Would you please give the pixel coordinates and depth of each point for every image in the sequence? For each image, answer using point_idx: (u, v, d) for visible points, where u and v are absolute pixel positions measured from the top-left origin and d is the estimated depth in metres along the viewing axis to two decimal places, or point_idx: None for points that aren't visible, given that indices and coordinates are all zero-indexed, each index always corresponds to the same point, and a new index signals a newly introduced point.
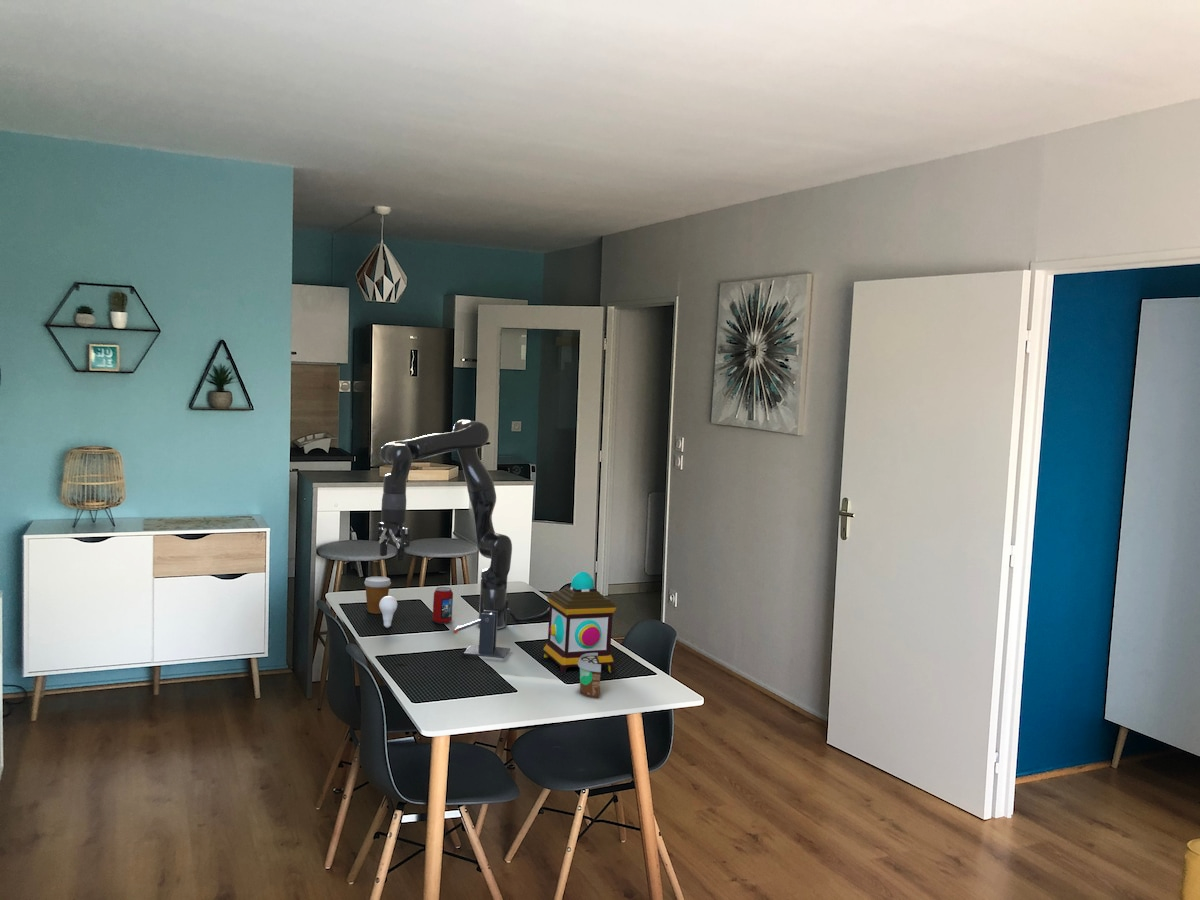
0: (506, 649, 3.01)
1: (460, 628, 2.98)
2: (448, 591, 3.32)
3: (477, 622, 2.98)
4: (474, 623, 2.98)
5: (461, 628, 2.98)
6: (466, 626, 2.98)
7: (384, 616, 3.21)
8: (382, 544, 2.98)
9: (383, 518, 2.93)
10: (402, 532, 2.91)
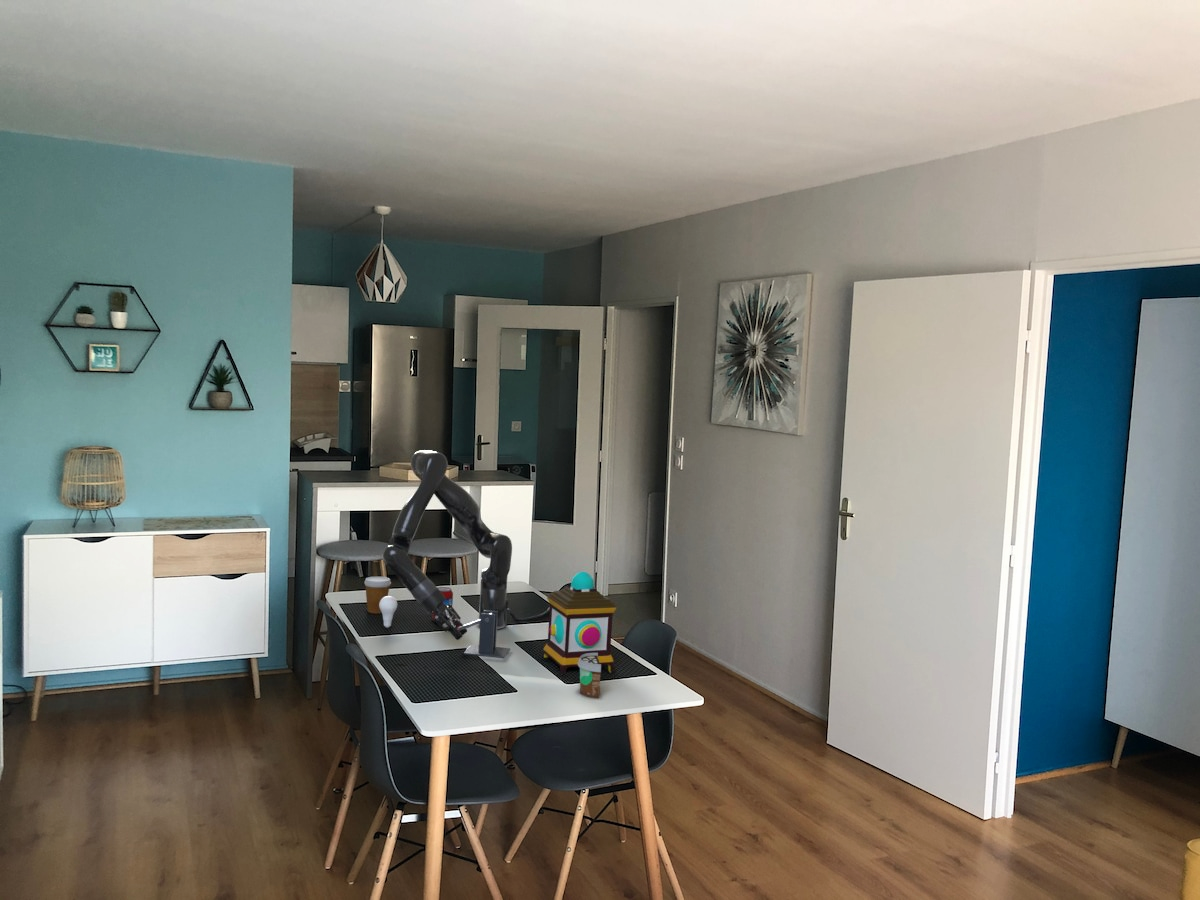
0: (506, 649, 3.01)
1: (460, 628, 2.98)
2: (448, 591, 3.32)
3: (477, 622, 2.98)
4: (474, 623, 2.98)
5: (461, 628, 2.98)
6: (466, 626, 2.98)
7: (384, 616, 3.21)
8: (455, 626, 3.02)
9: None
10: None
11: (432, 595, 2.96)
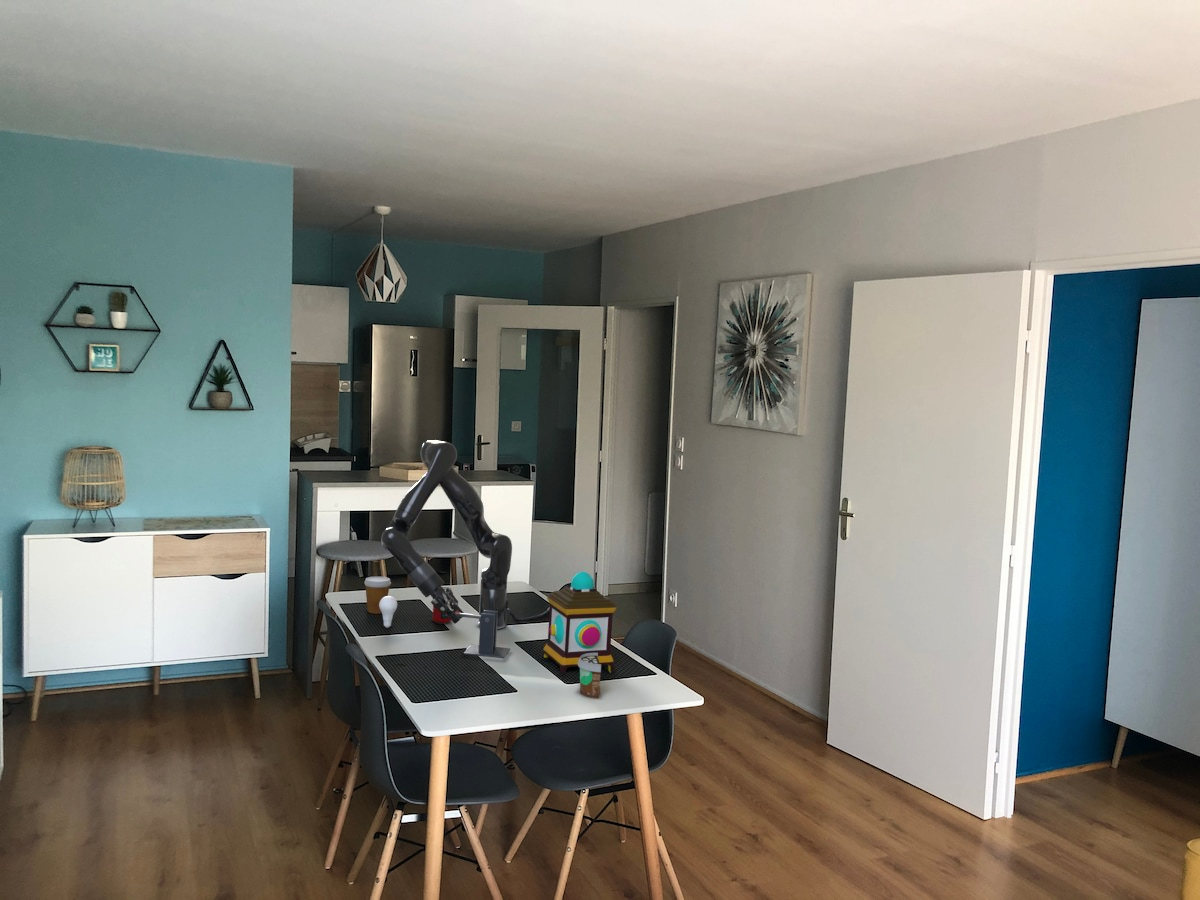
0: (506, 649, 3.01)
1: (458, 614, 2.98)
2: None
3: (476, 617, 2.97)
4: (473, 616, 2.98)
5: (459, 615, 2.98)
6: (464, 615, 2.98)
7: (384, 616, 3.21)
8: (453, 609, 3.02)
9: None
10: None
11: (430, 578, 2.96)
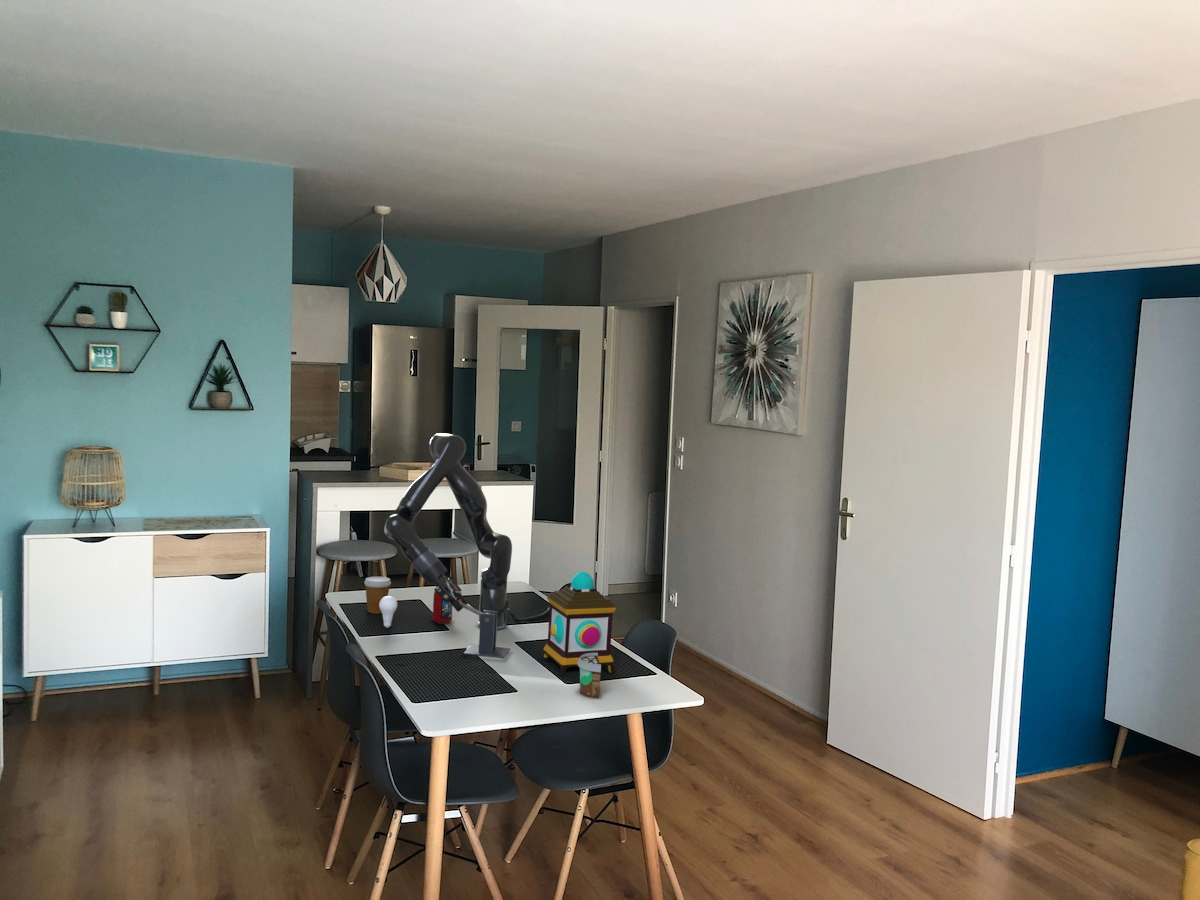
0: (506, 649, 3.01)
1: (461, 604, 2.98)
2: None
3: (477, 613, 2.97)
4: (474, 611, 2.97)
5: None
6: (466, 607, 2.98)
7: (384, 616, 3.21)
8: (456, 598, 3.01)
9: None
10: None
11: (433, 566, 2.95)
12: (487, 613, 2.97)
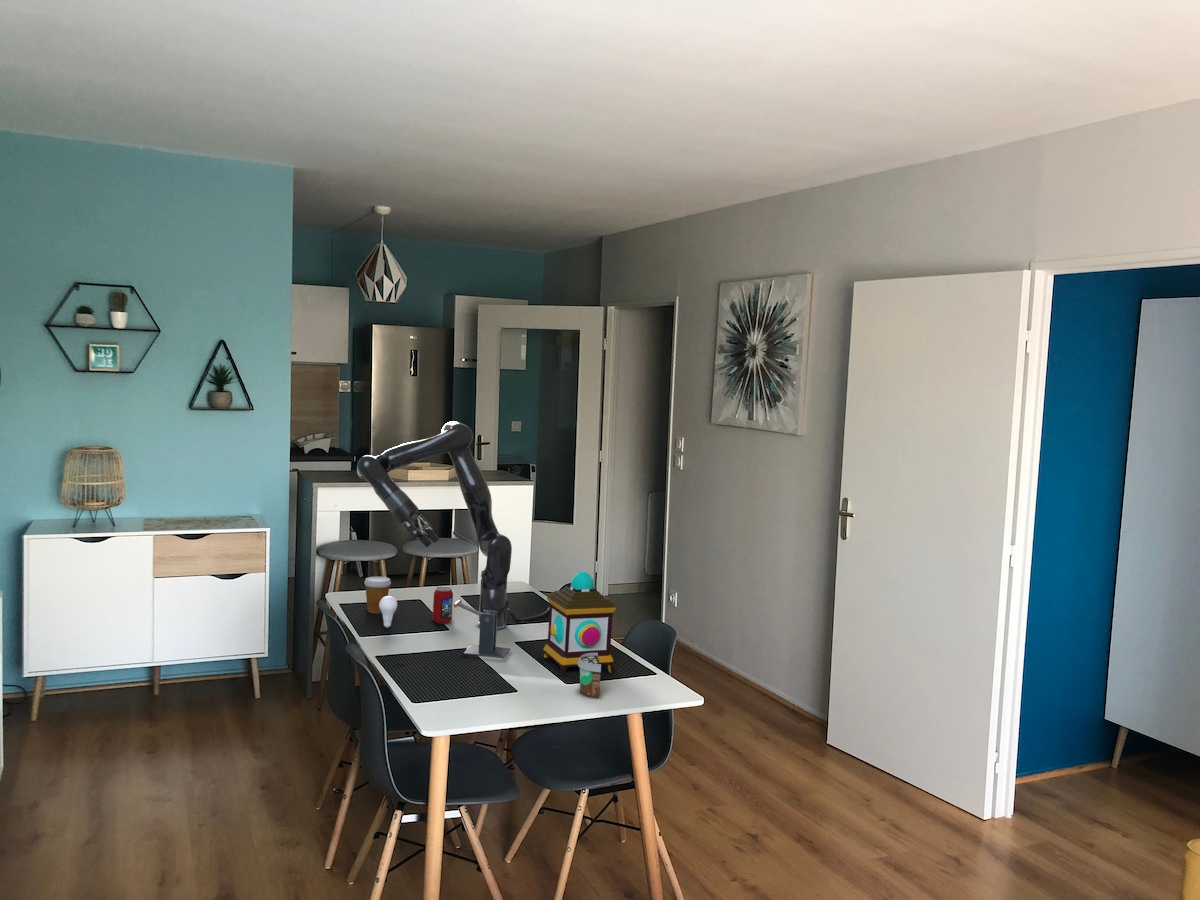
0: (506, 649, 3.01)
1: (460, 605, 2.98)
2: (448, 591, 3.32)
3: (477, 613, 2.97)
4: (474, 611, 2.97)
5: (461, 606, 2.98)
6: (466, 608, 2.98)
7: (384, 616, 3.21)
8: None
9: None
10: None
11: (404, 504, 3.04)
12: (487, 613, 2.97)
